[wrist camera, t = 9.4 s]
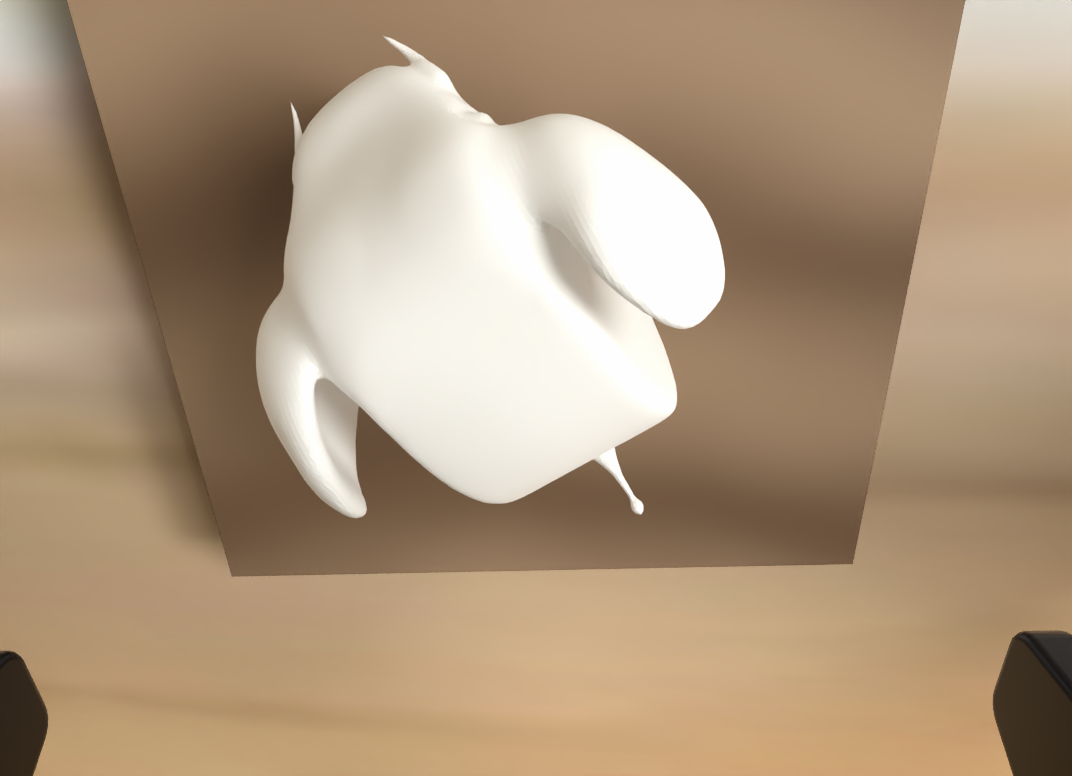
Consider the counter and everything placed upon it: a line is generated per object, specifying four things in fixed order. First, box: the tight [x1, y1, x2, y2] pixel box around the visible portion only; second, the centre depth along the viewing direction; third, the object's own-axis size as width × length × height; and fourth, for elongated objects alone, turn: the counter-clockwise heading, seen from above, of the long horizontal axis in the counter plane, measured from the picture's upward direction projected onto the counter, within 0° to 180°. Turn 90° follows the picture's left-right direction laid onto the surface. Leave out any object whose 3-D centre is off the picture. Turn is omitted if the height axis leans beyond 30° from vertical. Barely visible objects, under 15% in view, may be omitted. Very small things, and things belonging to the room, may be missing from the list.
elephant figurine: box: [256, 36, 725, 518], centre depth 13 cm, size 7×8×6 cm
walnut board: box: [67, 0, 965, 576], centre depth 17 cm, size 16×14×2 cm
